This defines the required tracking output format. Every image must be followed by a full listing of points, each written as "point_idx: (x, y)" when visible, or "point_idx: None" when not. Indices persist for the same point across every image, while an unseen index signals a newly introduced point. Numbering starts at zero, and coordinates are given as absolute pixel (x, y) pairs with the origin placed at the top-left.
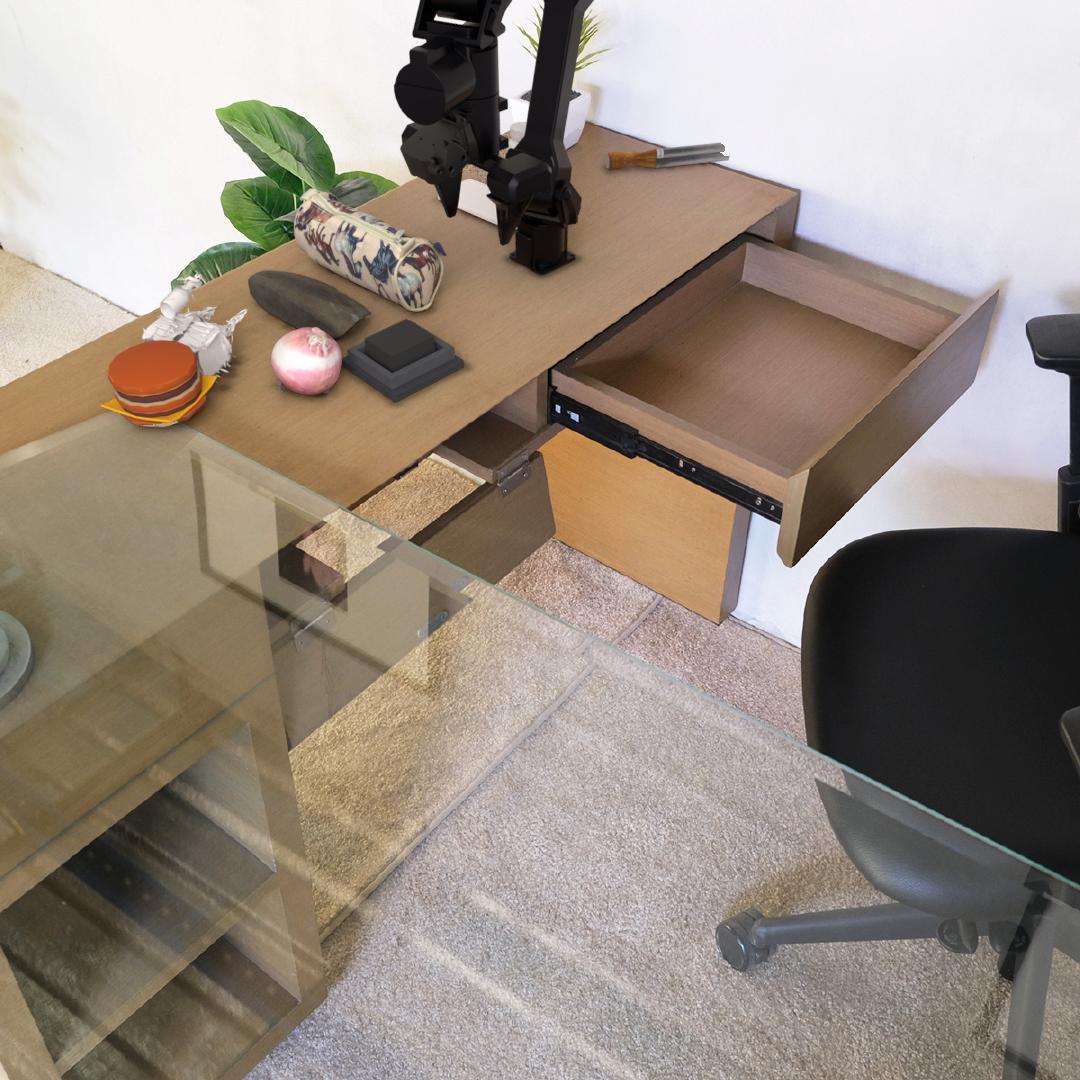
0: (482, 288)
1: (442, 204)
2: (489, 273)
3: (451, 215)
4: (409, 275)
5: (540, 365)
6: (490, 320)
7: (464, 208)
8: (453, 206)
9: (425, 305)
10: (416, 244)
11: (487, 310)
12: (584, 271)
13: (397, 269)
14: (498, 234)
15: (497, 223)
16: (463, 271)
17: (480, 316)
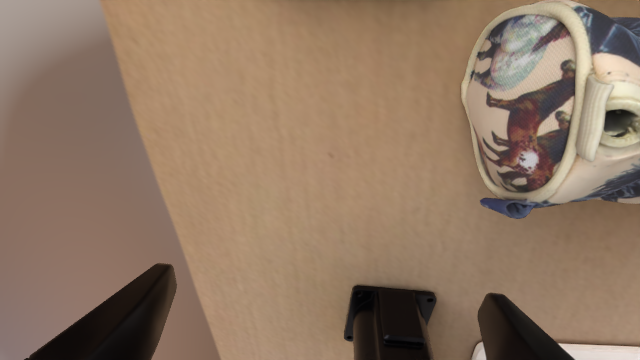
0: (414, 208)
1: (547, 336)
2: (435, 247)
3: (486, 305)
4: (526, 65)
5: (129, 86)
6: (323, 141)
7: (592, 348)
8: (496, 346)
9: (468, 84)
10: (571, 156)
11: (354, 162)
12: (312, 320)
13: (571, 28)
14: (144, 295)
15: (99, 344)
16: (482, 227)
17: (349, 139)
